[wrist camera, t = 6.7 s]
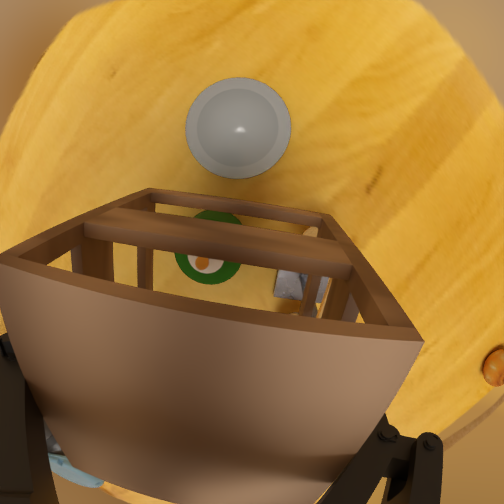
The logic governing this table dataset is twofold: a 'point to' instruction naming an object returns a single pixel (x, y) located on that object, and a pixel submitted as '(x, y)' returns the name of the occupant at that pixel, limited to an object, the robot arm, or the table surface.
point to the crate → (204, 353)
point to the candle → (206, 267)
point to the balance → (301, 284)
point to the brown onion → (494, 368)
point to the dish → (238, 128)
